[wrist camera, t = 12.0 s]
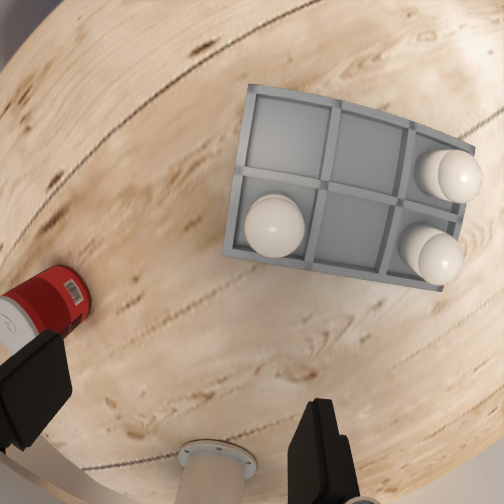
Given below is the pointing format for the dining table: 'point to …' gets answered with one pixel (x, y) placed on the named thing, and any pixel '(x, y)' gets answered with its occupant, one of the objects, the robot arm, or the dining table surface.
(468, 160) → the seated egg
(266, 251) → the loose egg
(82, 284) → the canned food
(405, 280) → the egg carton
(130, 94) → the dining table surface
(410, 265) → the seated egg
